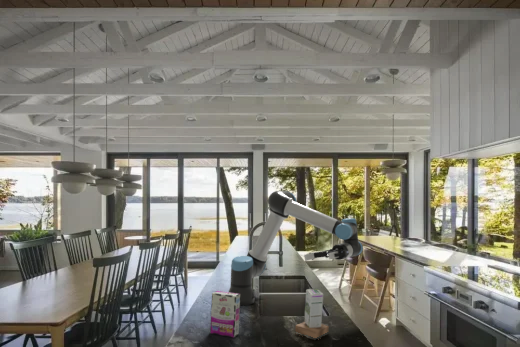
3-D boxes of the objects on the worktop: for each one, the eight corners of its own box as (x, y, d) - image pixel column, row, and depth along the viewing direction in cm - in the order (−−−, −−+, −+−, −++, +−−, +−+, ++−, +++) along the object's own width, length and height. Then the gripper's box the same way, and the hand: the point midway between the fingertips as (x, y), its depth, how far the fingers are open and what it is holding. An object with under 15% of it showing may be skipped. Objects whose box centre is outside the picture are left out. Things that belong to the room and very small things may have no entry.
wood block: (308, 329, 160) (309, 320, 161) (328, 336, 153) (328, 326, 154) (295, 334, 153) (295, 325, 153) (315, 342, 146) (315, 332, 146)
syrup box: (321, 327, 152) (324, 293, 151) (308, 328, 150) (311, 294, 149) (315, 321, 157) (318, 288, 157) (303, 321, 156) (305, 288, 155)
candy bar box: (239, 333, 150) (241, 293, 151) (234, 338, 146) (236, 296, 147) (215, 329, 154) (217, 290, 155) (209, 333, 150) (211, 292, 151)
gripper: (365, 257, 172) (341, 264, 157) (322, 259, 189) (297, 266, 174) (363, 241, 173) (339, 246, 158) (320, 245, 190) (294, 250, 175)
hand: (317, 257), depth 166 cm, fingers open, 13 cm apart
